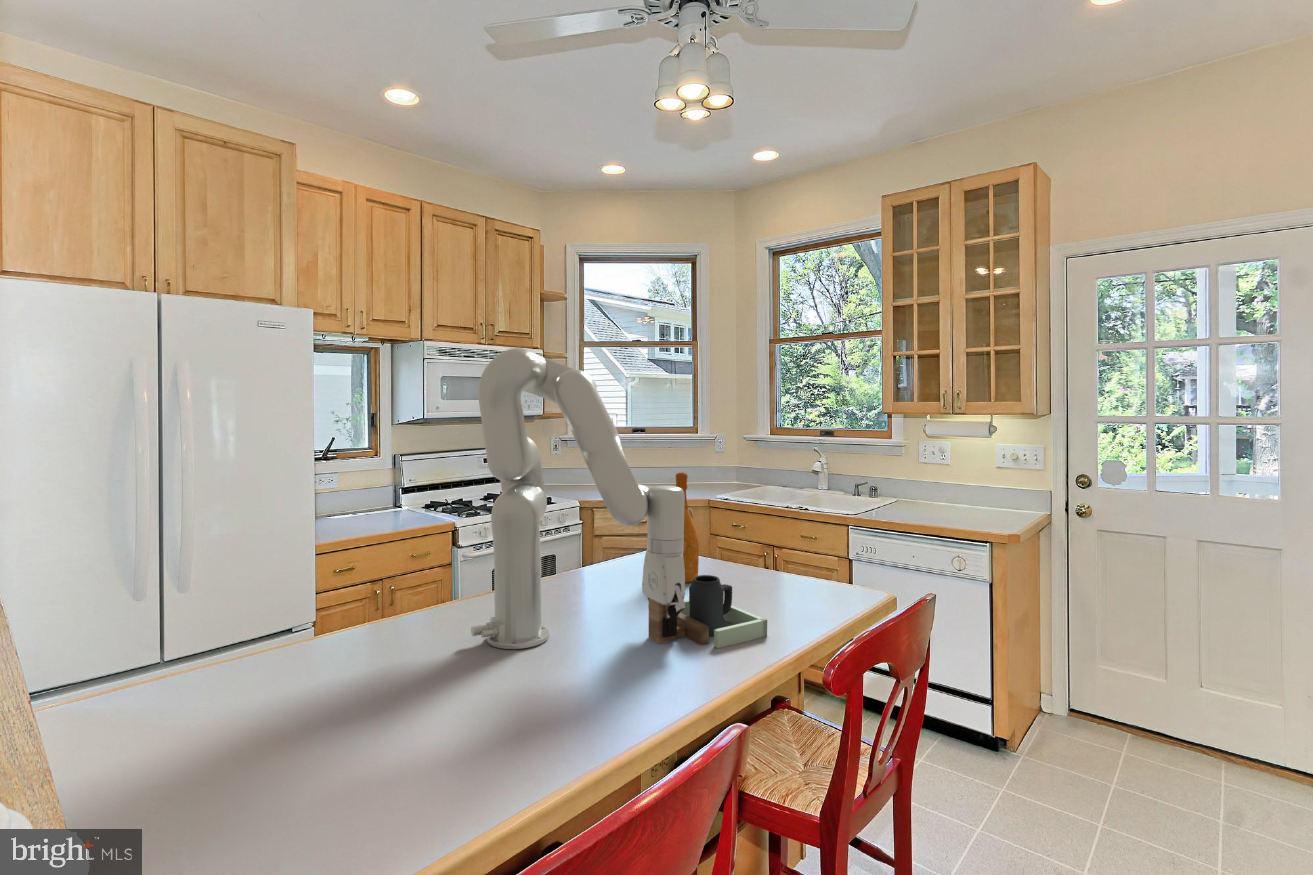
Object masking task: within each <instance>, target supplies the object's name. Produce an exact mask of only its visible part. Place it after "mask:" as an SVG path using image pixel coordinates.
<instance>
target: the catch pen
mask: <svg viewBox="0 0 1313 875" xmlns="http://www.w3.org/2000/svg"><path fill="white" fill-rule="evenodd" d="M684 603H685V609H684V610H682V611H681V613H683V614H685V615H687V616H689V615H690V604H689V599H684ZM723 604H724V601H723ZM723 617H724V620H725V622H728V623H730V624H732V625H728V626H726V627H723V628H719V629H715V630H714V636H713V647H714V648H716V649H721V648H724V647H730V646H733V645H737V644H741V643H745V642H746V643H747V642H750V641H752V640H758V639H761V638H765V637H767V636H768V619H766V618H764V617H762V616H759V615H757V614H753V613H752V612H749V611H746V610H745V609H742V608H740V607H738V606H735V605H731V608H730V610H729V612H728V613H726V614H724V615H723Z"/></svg>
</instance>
